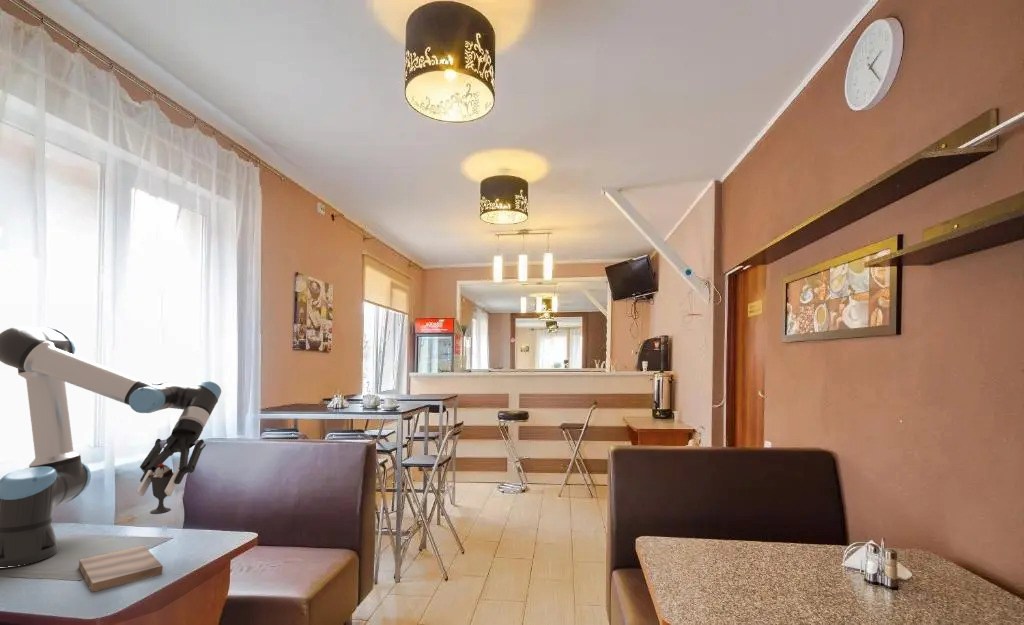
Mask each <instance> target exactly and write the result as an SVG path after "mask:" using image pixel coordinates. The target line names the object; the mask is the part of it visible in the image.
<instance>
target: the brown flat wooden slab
mask: <svg viewBox="0 0 1024 625" xmlns="http://www.w3.org/2000/svg"><path fill="white" fill-rule="evenodd" d="M163 567H164V566H163V564H162V563H161V562H160V561H159V560H158V559H157V558H156V557H155V555H154V554H152V553H151V551H150V550H149V549H148V548H147V547H146V546H145V545H140V546H139V545H138V546H135V547H130V548H126V549H122V550H121V549H120V550H117V551H113V552H112V551H111V552H107V553H104V554H98V555H95V556H94V555H93V556H90V557H86V558H82V559H79V561H78V569H79V571H80V572H81V574H82V576H83V578H84V581H85V582H86V583H87V585H88V586H87V587H90V588H89V589H90V591H91V592H92V593H94V592H93V591H95V592H98V591H101V590H105V589H109V588H114V587H117V586H121V585H124V584H125V585H126V584H128V583H132V582H133V583H134V582H135V581H136V582H137V581H140V580H143V579H147V578H151V576H152V577H155V576H158V575H162V574H163Z"/></svg>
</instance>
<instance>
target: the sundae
mask: <svg viewBox="0 0 1024 625" xmlns="http://www.w3.org/2000/svg"><path fill="white" fill-rule="evenodd" d="M157 459H158V460H159V461H160V464H159V465H158V466H157V469H156V470H155V471H154V473H153V475H150V476H148V478H150V479H151V489H152V490H151V491H152V494H153V496H154V498H156V499H157V501H158V505H157V507H156V508H155V509H152V510H150V512H149V514H151V515H162V514H166V513H169V512H170V511H171V510H172V508H170V507H165V506H164V505H165V504H164V500H165V499H166V498H167V497H168V496H167V494H166V493H165V492H164V491H165V489H166V487H167V485H168V483H169V481H170V479H171V478H172V476H173V474H174V472H173V469H172V468H170V466H169V465H166V464H164V463H161V460H160V459H159V457H158V458H157Z"/></svg>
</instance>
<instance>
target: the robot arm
mask: <svg viewBox="0 0 1024 625" xmlns="http://www.w3.org/2000/svg"><path fill="white" fill-rule="evenodd" d="M75 352H76V344H75V340H73V338H72V337H71V336H70V335H69V334H68V333H66V332H65V331H62V330H59V329H55V328H52V327H36V326H35V327H34V326H23V325H22V326H14V327H10V328H8V329H4V330H3V331H2V332H0V362H1V363H3V364H4V365H6V366H9V367H12V368H15V369H17V371H18V372H17V373H18V376H20V377H21V378H23V379H25V382H26V389H27V390H26V391H27V397H28V398H27V399H28V406H29V408H28V409H29V414H30V423H31V431H32V432H31V433H32V441H33V442H32V443H33V449H34V456H35V457H34V459H33V461H31V463H29V465H28V467H26V468H24V469H18V470H17V469H16V470H14V471H11V472H9V473H7V474H5V475H3V476H2V477H0V567H8V566H18V565H23V566H25V565H24V564H27V565H30V564H29V563H31V564H33V562H35V563H38V562H41V561H44V560H46V559H48V558H51V557H53V556H54V555H56V554H57V553H58V548H59V543H58V542H59V541H58V539H57V537H56V533H55V531H54V528H53V525H52V524H53V513H54V508H55V507H58V506H60V505H62V504H64V503H68V502H70V501H73V500H74V499H76V498H77V497H79V496H80V495H81V494H83V492H84V491H86V489H87V488H88V487H89V484H90V482H91V480H92V478H91V477H92V473H91V470H90V468H89V466H88V465H86V464H85V463H84V462H82V456H81V453H78V452H77V451H75V450H74V446H73V445H74V444H73V436H72V430H71V420H70V414H69V406H68V405H69V404H68V398H67V389H66V388H67V387H66V383H68V384H71V385H73V386H76V387H78V388H81V389H84V390H87V391H89V392H92V393H95V394H98V395H100V396H103V397H105V398H109V399H112V400H114V401H116V402H120V403H122V404H125V405H127V406H129V407H130V409H132V410H133V411H134V412H136V413H139V414H151V413H156V412H158V411H162V410H165V409H177V410H183V411H182V412H181V414H180V415H179V418H178V420H177V422H176V423H175V425H174V426H173V428H172V430H171V434H170V435H169V436H168V437H167V438H165V439H161V438H157V439H156V440H155V441H154V442H155V443H154V445H153V447H152V448H151V450H150V452H148V454H147V455H146V457H145V459H144V460H143V461H142V462H141V464H140V465H139V469H141V471H142V472H143V474H142V476H141V478H140V479H139V482H140V484H139V486H138V488H137V490H136V493H137V494H138V495H139V496H140V497H144V496H145V495H146V492H147V490H148V489H149V487H150V485H151V484H152V482H151V479H150V478H148V476H150V475H153V473H154V471H155V470H156V469H157V466H158V465H159V464H160V461H159V460H158V459H157V458H158V457H159V459H160V460H161V463H162V464H164V462H165V461H167V459H168V458H169V457H171V456H174V453H175V454H176V453H180V455H179V456H180V457H179V464H178V466H179V467H177V468H178V469H176V470H175V469H174V472H173V473H174V474H173V476H172V478H171V479H170V481H169V483H168V485H167V487H166V489H165V491H164V492H165V493H166V494H167V497H172V495H173V493H174V491H175V489H176V487H177V485H180V484H181V483H182V480H183V478H184V476H185V475H186V474H188V473H190V474H191V473H194V472H195V469H196V466H197V464H198V461H199V458H200V456H201V454H202V451H203V450H204V449H205V447H206V445H207V444H206V442H205V441H204V439H203V438H200V436H201V435H202V433H203V430H204V428H205V427H206V424H207V422H208V421H209V419H210V416H211V415H212V413H213V411H214V409H215V408H216V405H217V403H218V402H219V399H220V396H221V393H222V388H221V386H219V384H217V383H215V382H214V381H209V380H205V381H201V382H199V383H198V384H197V385H196V386H189V385H188V386H187V385H181V384H174V383H169V382H158V381H155V382H153V383H149V382H146V381H143V380H140V379H138V378H135V377H134V376H133V377H132V376H130V375H128V374H125V373H123V372H120V371H118V370H115V369H113V368H109V367H107V366H105V365H101V364H100V363H96V362H94V361H92V360H88V359H86V358H83V357H81V356H79V355H76V354H75ZM199 438H200V439H199ZM191 448H193V449H192V452H191V455H190V449H191ZM189 455H190V457H189ZM43 559H44V560H43ZM40 560H41V561H40ZM37 561H38V562H37ZM18 567H19V566H18Z"/></svg>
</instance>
